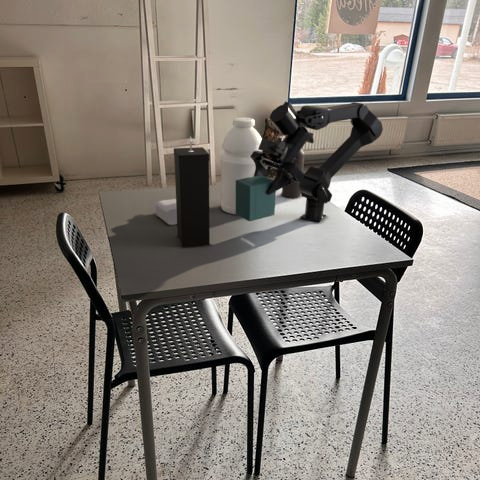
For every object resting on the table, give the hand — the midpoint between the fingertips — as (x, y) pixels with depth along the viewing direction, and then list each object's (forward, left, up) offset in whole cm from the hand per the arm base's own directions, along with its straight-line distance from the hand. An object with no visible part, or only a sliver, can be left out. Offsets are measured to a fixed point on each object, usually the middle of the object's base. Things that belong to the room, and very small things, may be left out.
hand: (259, 190), depth 142 cm
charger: (+2, -29, -12) cm, 32 cm away
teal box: (+1, -1, -2) cm, 2 cm away
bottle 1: (-16, -13, -12) cm, 24 cm away
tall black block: (+16, -12, -12) cm, 24 cm away
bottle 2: (-38, -4, -12) cm, 40 cm away
